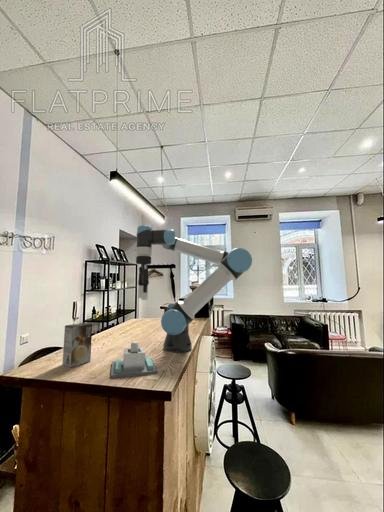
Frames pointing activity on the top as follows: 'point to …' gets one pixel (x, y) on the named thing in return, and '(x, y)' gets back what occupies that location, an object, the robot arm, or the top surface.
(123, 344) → the top surface
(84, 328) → the coffee box
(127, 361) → the collar
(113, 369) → the board
